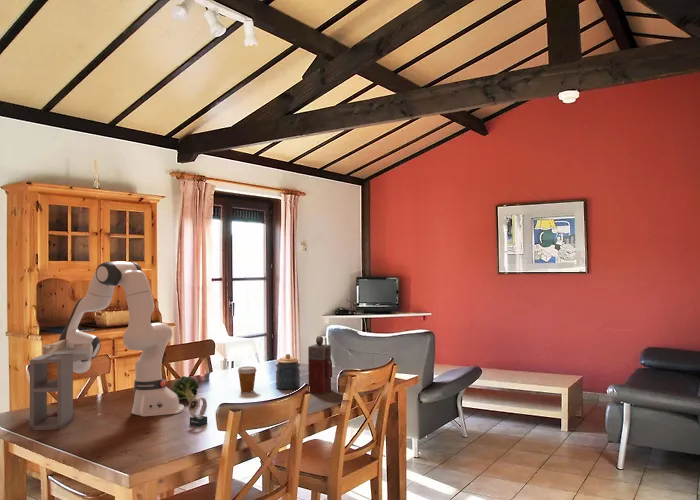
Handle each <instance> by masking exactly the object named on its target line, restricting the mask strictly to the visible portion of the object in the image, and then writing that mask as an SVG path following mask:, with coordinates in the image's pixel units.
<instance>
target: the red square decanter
mask: <svg viewBox="0 0 700 500" xmlns="http://www.w3.org/2000/svg"><path fill="white" fill-rule="evenodd" d="M315 343H316V344H312V345H310V346H308V350H307V351H308V353H307V354H308V360H307V361H308V367H307V369H308V370H307V371H308V387H309V386H310V392H311V393H312V394H322V395H323V394H324V395H325V394H327V393H329V392H330V391H332V379H333V360H332V345H330V344H325V343H324V337H323V336H322V335H321V336H320V335H319V336H318V335H317V336H316V339H315ZM323 343H324V344H323ZM311 393H310V394H311Z"/></svg>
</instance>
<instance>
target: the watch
mask: <svg viewBox="0 0 700 500" xmlns="http://www.w3.org/2000/svg"><path fill="white" fill-rule="evenodd" d="M201 402H202V405H201ZM200 407H201V408H200ZM199 408H200V411H199V414H196V413H197V411H198V409H199ZM207 408H208V403H207V399H206V398H205V397H200V396H196V398H194V399H193V400H191V401H190V403H189V402H188V410H189V415H190V417H189V426H194V427H198V428H199V427H202V426H206V425H208V416H206V415H205V414H206V411H207Z"/></svg>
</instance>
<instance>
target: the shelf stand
mask: <svg viewBox="0 0 700 500" xmlns="http://www.w3.org/2000/svg"><path fill="white" fill-rule="evenodd" d="M48 364H57V373H56V374H57V379H55V378H53V379H49V380H48V373H47V372H48ZM51 392H52V393H55V392H57V393H56V395H57V397H56V398H57V402H56V405H57V408H56V409H57V410H56V411H57V416H48V393H51ZM73 420H74V371H73V354H48V355H43V354H41V355H39V356H36V357H33V358H31V359H29V431H40V430H41V431H42V430H43V431H44V430H62V429H63V428H64V427H66V426H67V425H69V424H70V423H71V422H72V421H73Z"/></svg>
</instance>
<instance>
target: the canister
mask: <svg viewBox="0 0 700 500" xmlns="http://www.w3.org/2000/svg"><path fill="white" fill-rule="evenodd" d="M276 361H277V363H276V364H275V367H276V371H275V387H276V389H277V388H279V389H278V390H282V389H291V390H295V389H294V388H297V387H298V388H297V389H300V388H301V369H300V367H301V364H300V363H299V361H300V359H298V358H296V357H295V356H294V357H293V356H291V354H290V353H286V354H285V357H284V356H283V357H280V358H279V359H278V360H276Z"/></svg>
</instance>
